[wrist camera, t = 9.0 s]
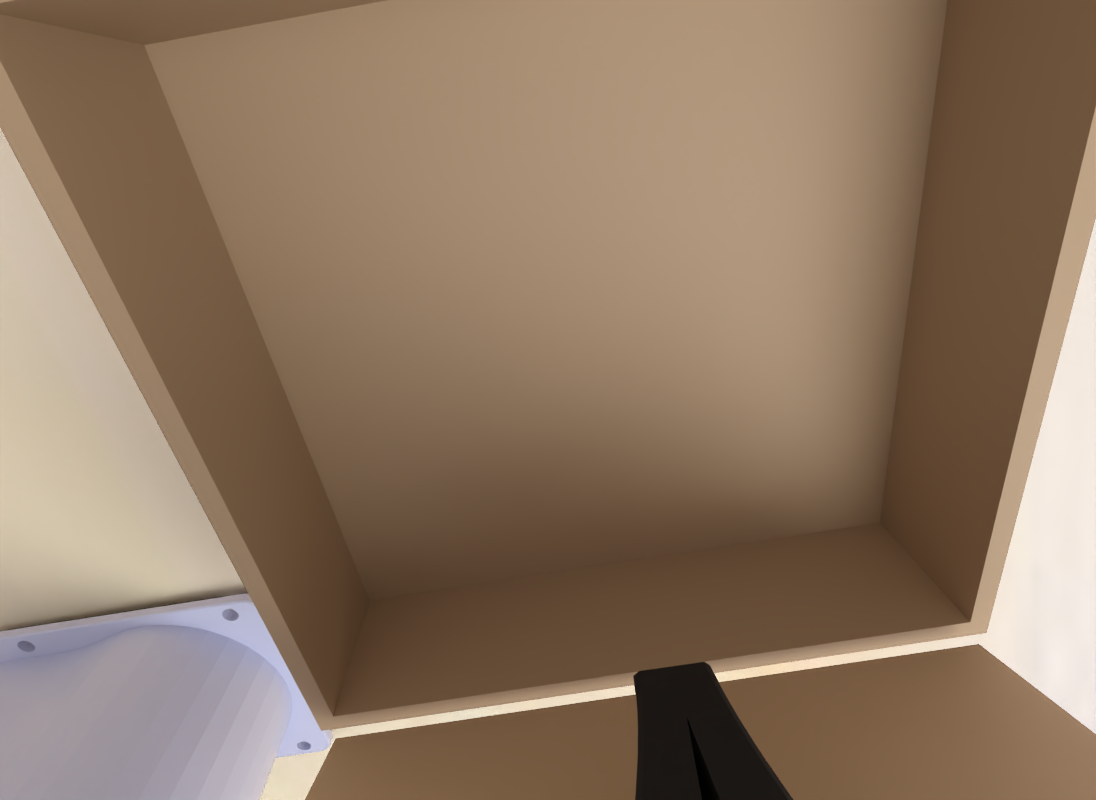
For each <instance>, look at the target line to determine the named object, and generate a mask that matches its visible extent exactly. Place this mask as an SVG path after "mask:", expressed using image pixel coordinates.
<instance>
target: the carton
mask: <svg viewBox="0 0 1096 800" xmlns="http://www.w3.org/2000/svg"><path fill="white" fill-rule="evenodd" d="M0 127H1V129H2V131H3V133H4V135H5V137H6V139H7V141H8V142H9V144H10V146H11V148H12V150H13V152H14V154H15V156H16V158H17V159H18V161H19V163H20V165H21V167H22V169H23V171H24V173H25V174H26V176H27V178H28V180H29V182H30V184H31V186H32V188H33V190H34V191H35V193H36V195H37V197H38V199H39V201H40V203H41V205H42V206H43V208H44V210H45V212H46V214H47V216H48V218H49V220H50V221H51V223H52V225H53V227H54V229H55V231H56V233H57V235H58V237H59V238H60V240H61V242H62V244H63V246H64V248H65V250H66V252H67V253H68V255H69V257H70V259H71V261H72V263H73V265H74V267H75V269H76V270H77V272H78V274H79V276H80V278H81V280H82V282H83V284H84V285H85V287H86V289H87V291H88V293H89V295H90V297H91V299H92V301H93V302H94V304H95V306H96V308H97V310H98V312H99V314H100V316H101V317H102V319H103V321H104V323H105V325H106V327H107V329H108V331H109V332H110V334H111V336H112V338H113V340H114V342H115V344H116V346H117V348H118V349H119V351H120V353H121V355H122V357H123V359H124V361H125V363H126V364H127V366H128V368H129V370H130V372H131V374H132V376H133V378H134V380H135V381H136V383H137V385H138V387H139V389H140V391H141V393H142V395H143V396H144V398H145V400H146V402H147V404H148V406H149V408H150V410H151V411H152V413H153V415H154V417H155V419H156V421H157V423H158V425H159V427H160V428H161V430H162V432H163V434H164V436H165V438H166V440H167V442H168V443H169V445H170V447H171V449H172V451H173V453H174V455H175V457H176V459H177V460H178V462H179V464H180V466H181V468H182V470H183V472H184V474H185V475H186V477H187V479H188V481H189V483H190V485H191V487H192V489H193V491H194V492H195V494H196V496H197V498H198V500H199V502H200V504H201V506H202V507H203V509H204V511H205V513H206V515H207V517H208V519H209V521H210V522H211V524H212V526H213V528H214V530H215V532H216V534H217V536H218V538H219V539H220V541H221V543H222V545H223V547H224V549H225V551H226V553H227V554H228V556H229V558H230V560H231V562H232V564H233V566H234V568H235V570H236V571H237V573H238V575H239V577H240V579H241V581H242V583H243V585H244V586H245V588H246V590H247V592H248V594H249V596H250V598H251V600H252V602H253V603H254V605H255V607H256V609H257V611H258V613H259V615H260V617H261V618H262V620H263V622H264V624H265V626H266V628H267V630H268V632H269V633H270V635H271V637H272V639H273V641H274V643H275V645H276V647H277V649H278V650H279V652H280V654H281V656H282V658H283V660H284V662H285V664H286V665H287V667H288V669H289V671H290V673H291V675H292V677H293V679H294V681H295V682H296V684H297V686H298V688H299V690H300V692H301V694H302V696H303V697H304V699H305V701H306V703H307V705H308V707H309V709H310V711H311V712H312V714H313V716H314V718H315V720H316V722H317V724H318V726H319V728H320V729H321V731H324V730H331V729H338V728H344V727H351V726H358V725H365V724H371V723H378V722H385V721H392V720H399V719H405V718H412V717H419V716H426V715H433V714H439V713H446V712H453V711H460V710H466V709H473V708H480V707H487V706H494V705H500V704H507V703H514V702H521V701H528V700H534V699H541V698H548V697H555V696H561V695H568V694H575V693H582V692H589V691H595V690H602V689H609V688H616V687H623V686H629V685H634V678H633V676H634V675H635V674H636V673H637V672H638V671H643V670H650V669H657V668H664V667H671V666H678V665H685V664H692V663H699V662H705V663H707V664H709V665H710V666H711V668H712V670H713V672H714V673H717V672H724V671H731V670H738V669H745V668H751V667H758V666H765V665H772V664H779V663H785V662H792V661H799V660H806V659H812V658H819V657H826V656H833V655H840V654H846V653H853V652H860V651H867V650H874V649H880V648H887V647H894V646H901V645H907V644H914V643H921V642H928V641H935V640H941V639H948V638H955V637H962V636H968V635H975V634H982V633H986V632H987V629H988V625H989V621H990V617H991V613H992V610H993V606H994V602H995V598H996V594H997V591H998V587H999V583H1000V579H1001V575H1002V572H1003V568H1004V564H1005V560H1006V556H1007V553H1008V549H1009V545H1010V541H1011V537H1012V534H1013V530H1014V526H1015V522H1016V518H1017V515H1018V511H1019V507H1020V503H1021V499H1022V496H1023V492H1024V488H1025V484H1026V480H1027V477H1028V473H1029V469H1030V465H1031V461H1032V458H1033V454H1034V450H1035V446H1036V442H1037V439H1038V435H1039V431H1040V427H1041V423H1042V420H1043V416H1044V412H1045V408H1046V404H1047V401H1048V397H1049V393H1050V389H1051V385H1052V382H1053V378H1054V374H1055V370H1056V366H1057V363H1058V359H1059V355H1060V351H1061V347H1062V344H1063V340H1064V336H1065V332H1066V328H1067V325H1068V321H1069V317H1070V313H1071V309H1072V306H1073V302H1074V298H1075V294H1076V290H1077V287H1078V283H1079V279H1080V275H1081V271H1082V268H1083V264H1084V260H1085V256H1086V252H1087V249H1088V245H1089V241H1090V237H1091V233H1092V230H1093V226H1094V222H1095V218H1096V0H0Z"/></svg>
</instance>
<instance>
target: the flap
mask: <svg viewBox="0 0 1096 800" xmlns="http://www.w3.org/2000/svg"><path fill="white" fill-rule="evenodd" d="M719 684H720V686H721V688H722V690H723V691H724V693H725V695H726V697H727V698H728V700H729V702H730V704H731V705H732V707H733V709H734V710H735V712H736V714H737V716H738V717H739V719H740V720H741V722H742V724H743V725H744V727H745V728H746V730H747V732H748V733H749V735H750V736H751V738H752V740H753V741H754V743H755V744H756V746H757V747H758V749H759V750H760V752H761V753H762V755H763V756H764V758H765V759H766V761H767V762H768V764H769V765H770V767H771V768H772V770H773V771H774V772H775V774H776V775H777V777H778V778H779V780H780V781H781V783H782V784H783V785H784V787H785V788H786V790H787V791H788V793H789V794H790V796H791V797H792V798H793V800H1096V734H1094V733H1093V732H1092V731H1091V730H1089V729H1088V728H1087V727H1085V726H1084V725H1083V724H1081V723H1080V722H1079V721H1078V720H1076V719H1075V718H1074V717H1072V716H1071V715H1070V714H1069V713H1067V712H1066V711H1065V710H1063V709H1062V708H1061V707H1059V706H1058V705H1057V704H1056V703H1054V702H1053V701H1052V700H1050V699H1049V698H1048V697H1046V696H1045V695H1044V694H1043V693H1041V692H1040V691H1039V690H1037V689H1036V688H1035V687H1034V686H1032V685H1031V684H1030V683H1028V682H1027V681H1026V680H1024V679H1023V678H1022V677H1021V676H1019V675H1018V674H1017V673H1015V672H1014V671H1013V670H1011V669H1010V668H1009V667H1008V666H1006V665H1005V664H1004V663H1002V662H1001V661H1000V660H999V659H997V658H996V657H995V656H993V655H992V654H991V653H989V652H988V651H987V650H986V649H984V648H983V647H982V646H980V645H979V644H977V645H970V646H964V647H957V648H950V649H943V650H936V651H930V652H923V653H916V654H909V655H902V656H896V657H889V658H882V659H875V660H868V661H861V662H855V663H848V664H841V665H834V666H827V667H821V668H814V669H807V670H800V671H793V672H787V673H780V674H773V675H766V676H759V677H753V678H746V679H739V680H732V681H725V682H719ZM637 760H638V714H637V700H636V695H630V696H623V697H616V698H610V699H603V700H596V701H589V702H582V703H576V704H569V705H562V706H555V707H548V708H542V709H535V710H528V711H521V712H514V713H507V714H501V715H494V716H487V717H480V718H473V719H467V720H460V721H453V722H446V723H439V724H433V725H426V726H419V727H412V728H405V729H399V730H392V731H385V732H378V733H371V734H365V735H358V736H351V737H344V738H337V739H335V741H334V743H333V745H332V747H331V749H330V751H329V753H328V755H327V757H326V759H325V761H324V763H323V765H322V767H321V769H320V771H319V773H318V775H317V777H316V779H315V781H314V783H313V785H312V787H311V789H310V791H309V793H308V795H307V797H306V799H305V800H635V795H636V777H637Z"/></svg>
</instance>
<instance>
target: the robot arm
mask: <svg viewBox="0 0 1096 800" xmlns="http://www.w3.org/2000/svg"><path fill="white" fill-rule="evenodd" d="M230 609H232V610H230ZM233 610H234V611H233ZM633 678H634V685H635V692H636V700H637V714H638V760H637V777H636V795H635V800H793V798H792V797H791V796H790V794H789V793H788V791H787V790H786V788H785V787H784V785H783V784H782V783H781V781H780V780H779V778H778V777H777V775H776V774H775V772H774V771H773V770H772V768H771V767H770V765H769V764H768V762H767V761H766V759H765V758H764V756H763V755H762V753H761V752H760V750H759V749H758V747H757V746H756V744H755V743H754V741H753V740H752V738H751V736H750V735H749V733H748V732H747V730H746V728H745V727H744V725H743V724H742V722H741V720H740V719H739V717H738V716H737V714H736V712H735V710H734V709H733V707H732V705H731V704H730V702H729V700H728V698H727V697H726V695H725V693H724V691H723V690H722V688H721V686H720V684H719V682H718V680H717V678H716V676H715V674H714V672H713V670H712V668H711V666H710V665H709V664H707V663H705V662H699V663H692V664H685V665H678V666H671V667H664V668H657V669H650V670H643V671H638V672H637V673H636V674H635V675H634V676H633ZM332 737H333V735H332V732H331V730H324V731H321V729H320V728H319V726H318V724H317V722H316V720H315V718H314V716H313V714H312V712H311V711H310V709H309V707H308V705H307V703H306V701H305V699H304V697H303V696H302V694H301V692H300V690H299V688H298V686H297V684H296V682H295V681H294V679H293V677H292V675H291V673H290V671H289V669H288V667H287V665H286V664H285V662H284V660H283V658H282V656H281V654H280V652H279V650H278V649H277V647H276V645H275V643H274V641H273V639H272V637H271V635H270V633H269V632H268V630H267V628H266V626H265V624H264V622H263V620H262V618H261V617H260V615H259V613H258V611H257V609H256V607H255V605H254V603H253V602H252V600H251V598H250V596H249V594H239V595H232V596H226V597H219V598H213V599H206V600H200V601H193V602H187V603H181V604H174V605H168V606H161V607H155V608H148V609H142V610H135V611H129V612H123V613H116V614H110V615H103V616H97V617H90V618H84V619H77V620H71V621H65V622H58V623H52V624H45V625H39V626H32V627H26V628H19V629H13V630H7V631H0V800H259V799H260V797H261V794H262V792H263V789H264V787H265V784H266V781H267V779H268V776H269V774H270V771H271V768H272V766H273V763H274V761H275V758H277V757H284V756H290V755H297V754H304V753H311V752H318V751H323V750H325V749H327V748H328V747H329V746H330V744H331V740H332Z"/></svg>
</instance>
